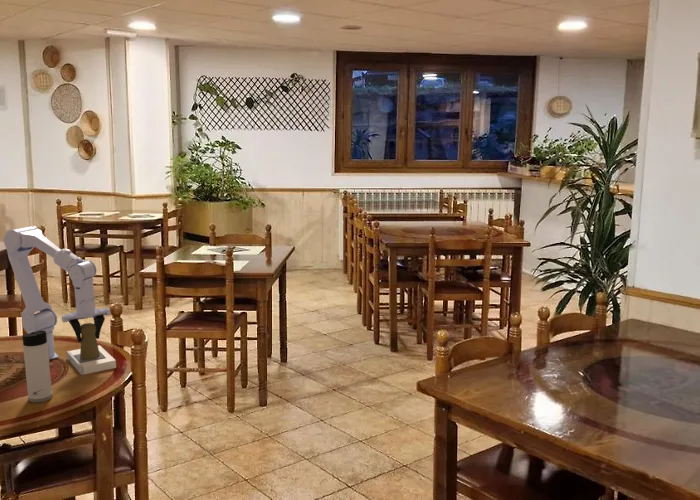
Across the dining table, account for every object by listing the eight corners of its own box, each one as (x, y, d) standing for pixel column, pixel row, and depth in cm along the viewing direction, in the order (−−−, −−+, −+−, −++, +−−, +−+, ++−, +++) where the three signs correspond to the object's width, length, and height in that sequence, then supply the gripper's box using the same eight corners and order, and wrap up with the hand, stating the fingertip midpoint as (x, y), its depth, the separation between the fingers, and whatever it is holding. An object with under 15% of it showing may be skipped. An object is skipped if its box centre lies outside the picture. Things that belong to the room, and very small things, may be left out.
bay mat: (73, 356, 224) (73, 355, 224) (98, 351, 229) (98, 350, 229) (80, 363, 218) (79, 362, 218) (105, 358, 222) (105, 357, 222)
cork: (93, 360, 219) (90, 327, 217) (76, 359, 220) (73, 326, 218) (103, 353, 225) (101, 321, 223) (86, 352, 226) (84, 320, 224)
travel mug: (37, 404, 193) (31, 336, 189) (23, 399, 196) (17, 332, 192) (57, 397, 198) (51, 330, 194) (43, 392, 201) (37, 326, 197)
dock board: (67, 358, 229) (66, 351, 228) (100, 352, 235) (99, 344, 235) (81, 375, 215) (80, 367, 214) (116, 367, 221) (115, 360, 220)
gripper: (64, 305, 212) (67, 347, 215) (111, 298, 220) (114, 338, 223) (58, 300, 218) (62, 341, 220) (105, 293, 226) (108, 333, 229)
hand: (88, 339), depth 222 cm, fingers closed on cork, 5 cm apart
